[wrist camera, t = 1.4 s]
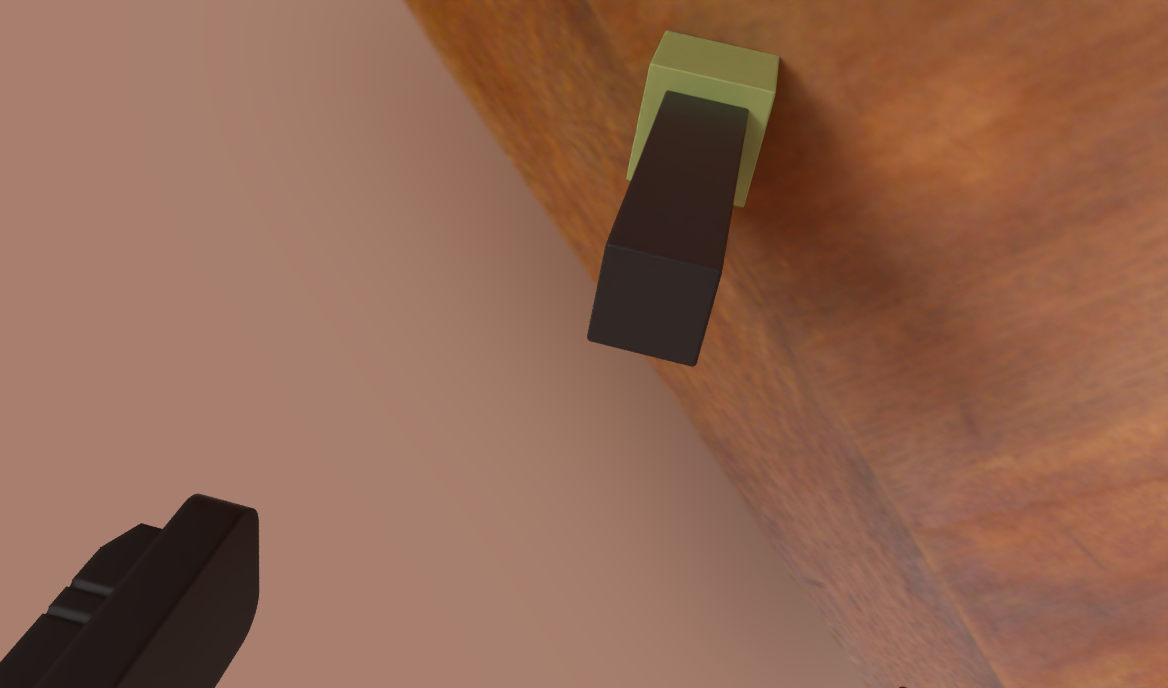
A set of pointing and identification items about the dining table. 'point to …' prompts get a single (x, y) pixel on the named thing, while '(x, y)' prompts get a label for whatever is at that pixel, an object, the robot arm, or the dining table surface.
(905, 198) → the dining table surface
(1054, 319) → the dining table surface
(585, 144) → the dining table surface
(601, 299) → the brush
